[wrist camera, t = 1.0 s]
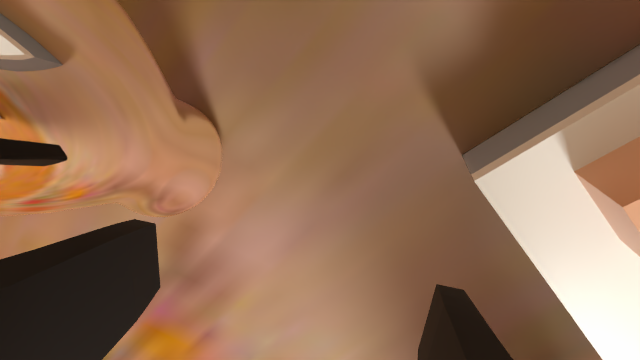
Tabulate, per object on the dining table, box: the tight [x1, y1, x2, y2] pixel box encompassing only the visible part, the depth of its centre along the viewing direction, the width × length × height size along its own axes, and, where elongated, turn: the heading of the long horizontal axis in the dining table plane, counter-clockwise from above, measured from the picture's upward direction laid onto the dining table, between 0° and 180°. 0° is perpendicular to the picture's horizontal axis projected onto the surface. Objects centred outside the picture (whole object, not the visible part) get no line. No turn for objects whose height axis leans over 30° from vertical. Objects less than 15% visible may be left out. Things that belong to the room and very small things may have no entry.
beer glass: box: [0, 0, 222, 217], centre depth 12 cm, size 7×7×15 cm
